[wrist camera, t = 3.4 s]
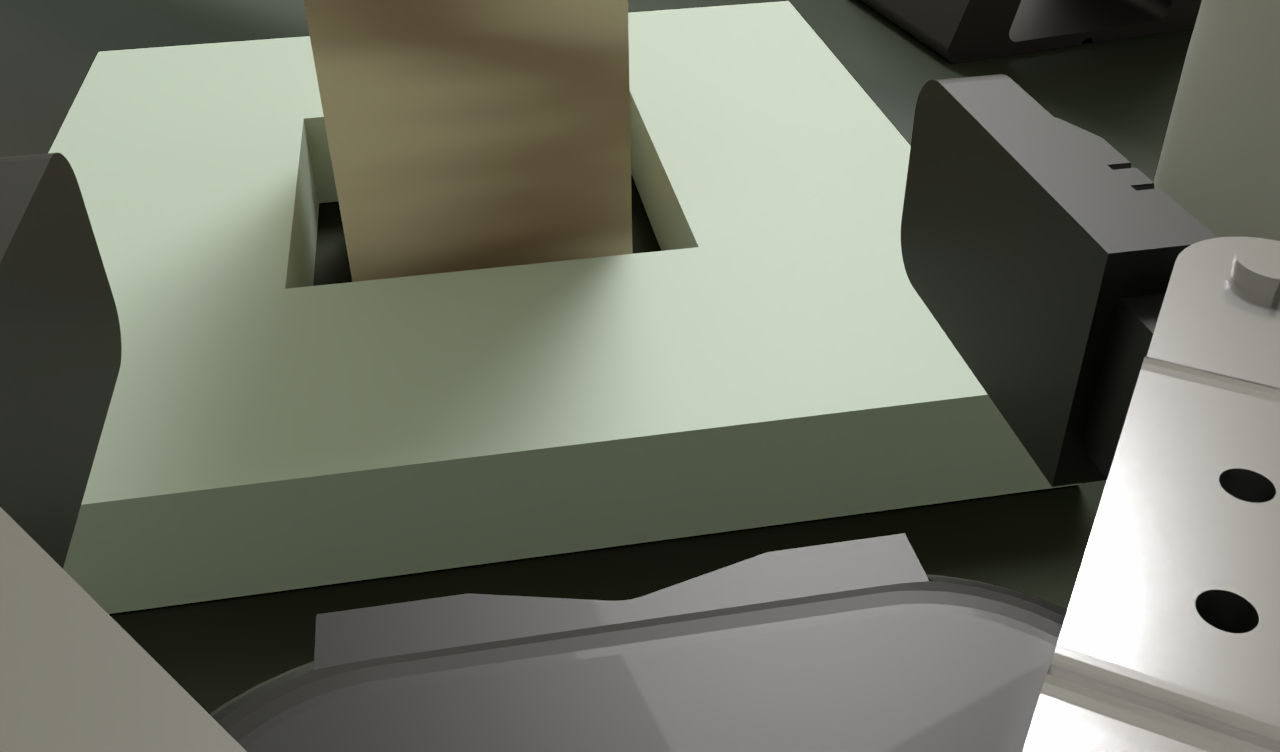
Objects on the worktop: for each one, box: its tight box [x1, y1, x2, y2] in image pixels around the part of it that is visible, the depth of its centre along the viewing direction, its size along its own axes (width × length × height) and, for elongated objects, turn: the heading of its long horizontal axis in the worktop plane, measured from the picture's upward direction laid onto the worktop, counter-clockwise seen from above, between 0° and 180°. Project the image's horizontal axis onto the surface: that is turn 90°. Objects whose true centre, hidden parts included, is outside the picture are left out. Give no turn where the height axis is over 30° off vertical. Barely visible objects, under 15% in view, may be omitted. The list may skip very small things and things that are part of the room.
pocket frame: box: [49, 1, 1080, 614], centre depth 24 cm, size 17×17×2 cm
